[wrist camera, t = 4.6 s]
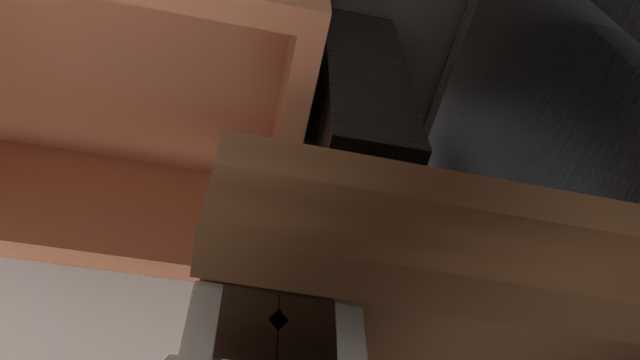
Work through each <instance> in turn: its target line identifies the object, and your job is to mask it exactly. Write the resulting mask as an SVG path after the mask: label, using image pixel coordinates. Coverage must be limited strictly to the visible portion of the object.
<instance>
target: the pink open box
mask: <svg viewBox="0 0 640 360" xmlns="http://www.w3.org/2000/svg"><path fill="white" fill-rule="evenodd" d="M331 15H332V10H331V0H0V256H1V257H8V258H16V259H24V260H31V261H39V262H47V263H54V264H62V265H69V266H77V267H85V268H92V269H100V270H107V271H115V272H123V273H130V274H138V275H145V276H153V277H161V278H168V279H176V280H184V281H191V282H195V281H196V280H199V281H200V278H194V277H190V270H191V260H192V251H193V241H194V233H195V229H196V226H197V222H198V218H199V215H200V211H201V208H202V204H203V201H204V197H205V193H206V190H207V186H208V183H209V179H210V176H211V172H212V168H213V165H214V161H215V158H216V154H217V151H218V147H219V144H220V140H221V136H222V133H223V129H224V130H230V131H236V132H241V133H247V134H252V135H258V136H264V137H269V138H275V139H280V140H286V141H291V142H297V143H303V141H304V137H305V132H306V128H307V123H308V119H309V114H310V110H311V105H312V101H313V96H314V92H315V87H316V83H317V78H318V74H319V69H320V65H321V60H322V56H323V51H324V47H325V42H326V38H327V33H328V29H329V24H330V20H331Z"/></svg>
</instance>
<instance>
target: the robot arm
mask: <svg viewBox="0 0 640 360" xmlns="http://www.w3.org/2000/svg"><path fill="white" fill-rule="evenodd" d="M223 286H224V290H223ZM222 294H223V296H222ZM221 301H222V303H221ZM220 307H221V309H220ZM219 314H220V315H219ZM218 321H219V322H218ZM165 360H368V355H367V345H366V336H365V327H364V317H363V308H362V305H361V303H360V302H353V301H347V300H340V299H332V298H327V297H320V296H312V295H304V294H295V293H287V292H274V291H268V290H261V289H255V288H248V287H242V286H235V285H229V284H225V285H224V284H219V283H212V282H206V281H199V280H196V281H195V284H194V286H193V290H192V295H191V299H190V304H189V308H188V313H187V318H186V322H185V327H184V332H183V336H182V341H181V346H180V350H179V355H169V356H168V357H167V358H166V359H165Z"/></svg>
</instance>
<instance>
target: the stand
mask: <svg viewBox="0 0 640 360" xmlns="http://www.w3.org/2000/svg"><path fill="white" fill-rule="evenodd" d="M331 10H332V15H331V20H330V24H329V29H328V33H327V38H326V42H325V47H324V51H323V56H322V60H321V65H320V69H319V74H318V78H317V83H316V87H315V92H314V96H313V101H312V105H311V110H310V114H309V119H308V123H307V128H306V132H305V137H304V141H303V144H308V145H314V146H319V147H325V148H330V149H336V150H342V151H347V152H353V153H358V154H364V155H370V156H375V157H381V158H386V159H392V160H397V161H403V162H409V163H414V164H420V165H425V166H431V167H436V168H442V169H448V170H453V171H459V172H464V173H470V174H476V175H481V176H487V177H492V178H498V179H503V180H509V181H515V182H520V183H526V184H531V185H537V186H543V187H548V188H554V189H559V190H565V191H570V192H576V193H582V194H587V195H593V196H598V197H604V198H609V199H615V200H621V201H626V202H632V203H637V204H640V0H469V1H468V3H467V6H466V9H465V12H464V15H463V17H462V20H461V23H460V26H459V29H458V31H457V34H456V37H455V40H454V43H453V45H452V48H451V51H450V54H449V57H448V59H447V62H446V65H445V68H444V71H443V73H442V76H441V79H440V82H439V85H438V87H437V90H436V93H435V96H434V99H433V101H432V104H431V107H430V110H429V113H428V115H427V118H426V121H425V124H424V122H423V119H422V116H421V113H420V110H419V106H418V103H417V100H416V97H415V93H414V90H413V87H412V84H411V80H410V77H409V74H408V71H407V67H406V64H405V61H404V58H403V55H402V51H401V48H400V45H399V42H398V38H397V35H396V32H395V29H394V25H393V22H392V20H388V19H383V18H378V17H373V16H368V15H363V14H358V13H353V12H348V11H343V10H338V9H333V8H331Z"/></svg>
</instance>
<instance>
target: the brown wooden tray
mask: <svg viewBox="0 0 640 360" xmlns="http://www.w3.org/2000/svg"><path fill="white" fill-rule="evenodd" d="M190 277H194V278H200V281H206V282H212V283H219V284H224V285H225V284H229V285H235V286H242V287H248V288H255V289H261V290H268V291H274V292H287V293H295V294H304V295H312V296H320V297H327V298H332V299H340V300H347V301H353V302H360V303H361V305H362V308H363V317H364V327H365V336H366V345H367V355H368V360H640V204H637V203H632V202H626V201H621V200H615V199H609V198H604V197H598V196H593V195H587V194H582V193H576V192H570V191H565V190H559V189H554V188H548V187H543V186H537V185H531V184H526V183H520V182H515V181H509V180H503V179H498V178H492V177H487V176H481V175H476V174H470V173H464V172H459V171H453V170H448V169H442V168H436V167H431V166H425V165H420V164H414V163H409V162H403V161H397V160H392V159H386V158H381V157H375V156H370V155H364V154H358V153H353V152H347V151H342V150H336V149H330V148H325V147H319V146H314V145H308V144H303V143H297V142H291V141H286V140H280V139H275V138H269V137H264V136H258V135H252V134H247V133H241V132H236V131H230V130H224V129H223V133H222V136H221V140H220V144H219V147H218V151H217V154H216V158H215V161H214V165H213V168H212V172H211V176H210V179H209V183H208V186H207V190H206V193H205V197H204V201H203V204H202V208H201V211H200V215H199V218H198V222H197V226H196V229H195V233H194V241H193V251H192V260H191V270H190ZM223 290H224V286H223ZM222 296H223V294H222ZM221 303H222V301H221ZM220 309H221V307H220ZM219 315H220V314H219ZM218 322H219V321H218Z"/></svg>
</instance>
